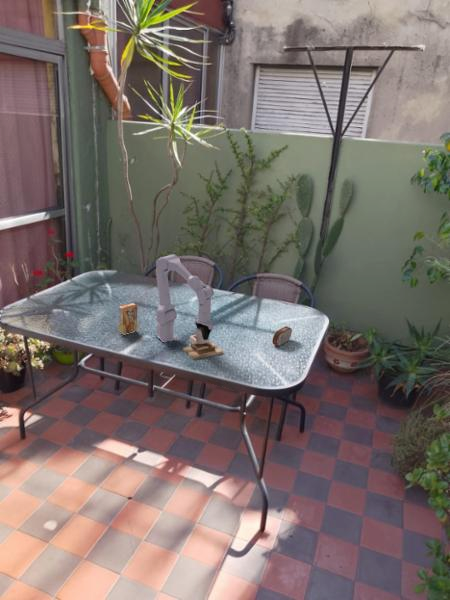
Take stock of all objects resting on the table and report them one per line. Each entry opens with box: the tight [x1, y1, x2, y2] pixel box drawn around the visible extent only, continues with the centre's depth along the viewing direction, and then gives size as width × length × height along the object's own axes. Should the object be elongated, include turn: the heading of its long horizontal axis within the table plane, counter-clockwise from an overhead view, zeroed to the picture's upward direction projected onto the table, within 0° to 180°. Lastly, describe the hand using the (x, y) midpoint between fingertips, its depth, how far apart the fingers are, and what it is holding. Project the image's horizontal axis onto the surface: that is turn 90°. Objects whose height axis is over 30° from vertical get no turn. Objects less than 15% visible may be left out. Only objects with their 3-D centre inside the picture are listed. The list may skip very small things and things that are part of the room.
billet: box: [195, 327, 210, 344], centre depth 217 cm, size 4×5×7 cm
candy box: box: [118, 302, 138, 334], centre depth 234 cm, size 9×4×15 cm, turn 137°
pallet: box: [182, 341, 224, 361], centre depth 220 cm, size 12×16×3 cm
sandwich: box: [272, 325, 293, 347], centre depth 233 cm, size 15×3×8 cm, turn 141°
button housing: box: [189, 334, 198, 344], centre depth 229 cm, size 7×7×3 cm
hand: (203, 337), depth 218 cm, fingers closed on billet, 4 cm apart
